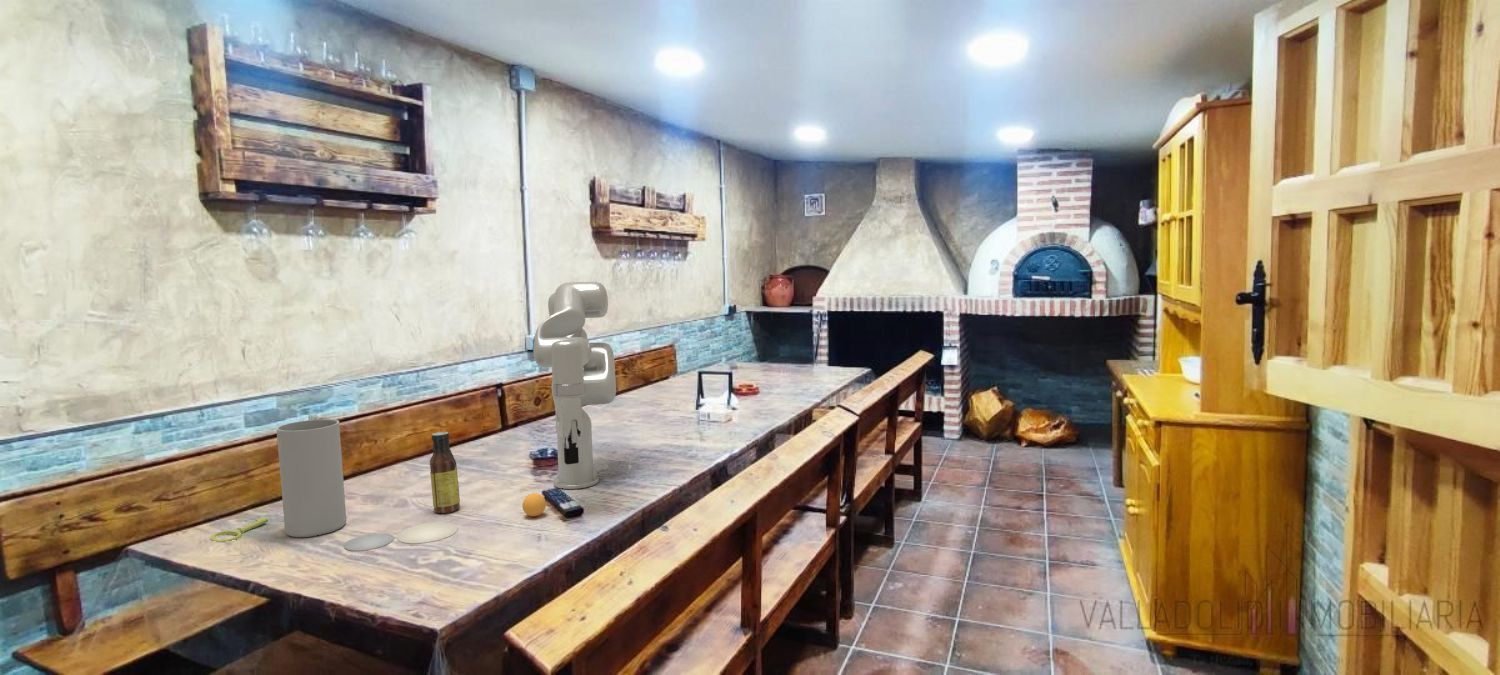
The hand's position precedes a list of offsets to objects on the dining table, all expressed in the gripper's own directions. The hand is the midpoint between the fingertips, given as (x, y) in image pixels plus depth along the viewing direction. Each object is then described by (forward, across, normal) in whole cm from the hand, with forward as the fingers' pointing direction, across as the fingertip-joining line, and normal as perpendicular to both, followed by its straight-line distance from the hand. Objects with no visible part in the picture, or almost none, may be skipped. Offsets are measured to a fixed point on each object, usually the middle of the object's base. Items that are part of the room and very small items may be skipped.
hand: (571, 463), depth 181 cm
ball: (+9, -1, -9) cm, 13 cm away
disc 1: (+12, -1, -45) cm, 47 cm away
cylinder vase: (+12, -17, -57) cm, 61 cm away
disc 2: (+12, -1, -33) cm, 36 cm away
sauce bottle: (+12, -16, -28) cm, 35 cm away
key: (+13, -22, -73) cm, 77 cm away
